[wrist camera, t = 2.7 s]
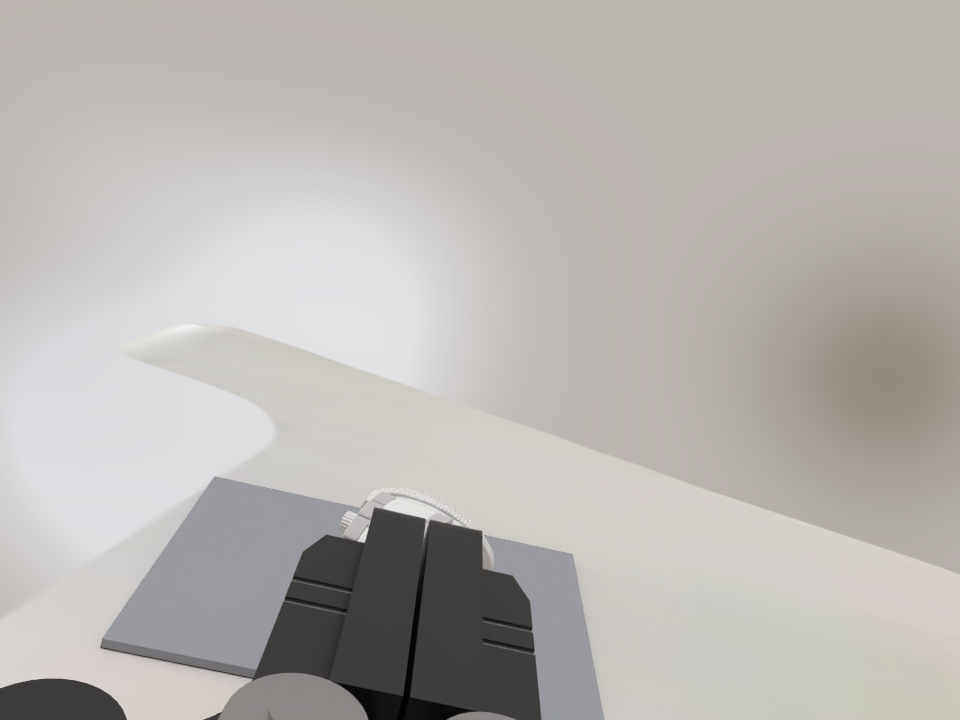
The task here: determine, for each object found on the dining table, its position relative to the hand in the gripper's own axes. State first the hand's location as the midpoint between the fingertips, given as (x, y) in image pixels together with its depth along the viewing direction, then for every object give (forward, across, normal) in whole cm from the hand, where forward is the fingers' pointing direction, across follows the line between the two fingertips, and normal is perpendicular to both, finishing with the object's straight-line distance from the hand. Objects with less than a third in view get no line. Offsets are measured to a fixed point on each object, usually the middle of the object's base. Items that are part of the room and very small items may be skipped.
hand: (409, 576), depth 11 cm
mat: (+24, 0, +17) cm, 29 cm away
